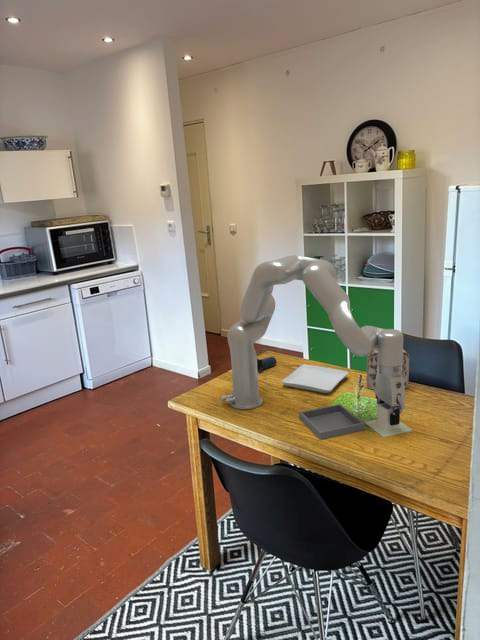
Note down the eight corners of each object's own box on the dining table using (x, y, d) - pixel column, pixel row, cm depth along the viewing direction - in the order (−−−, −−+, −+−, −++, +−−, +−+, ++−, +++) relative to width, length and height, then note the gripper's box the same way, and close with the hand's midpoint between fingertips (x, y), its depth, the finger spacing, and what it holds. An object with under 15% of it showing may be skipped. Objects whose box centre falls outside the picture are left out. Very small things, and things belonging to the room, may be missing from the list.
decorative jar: (365, 388, 192) (366, 344, 188) (382, 379, 200) (383, 337, 195) (392, 396, 184) (393, 351, 179) (409, 387, 191) (411, 343, 186)
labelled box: (385, 430, 157) (386, 410, 156) (376, 424, 162) (377, 404, 160) (399, 427, 159) (399, 407, 157) (389, 421, 163) (390, 401, 162)
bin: (320, 441, 155) (320, 432, 154) (299, 420, 169) (298, 412, 169) (364, 431, 159) (365, 423, 158) (340, 411, 174) (340, 403, 173)
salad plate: (330, 398, 186) (330, 389, 185) (280, 388, 197) (280, 380, 196) (349, 378, 203) (350, 371, 202) (303, 371, 214) (302, 363, 213)
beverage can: (260, 377, 213) (278, 370, 221) (263, 361, 210) (281, 355, 218) (246, 368, 219) (264, 362, 227) (248, 353, 216) (266, 347, 224)
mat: (383, 439, 154) (383, 436, 154) (364, 424, 164) (364, 421, 164) (412, 432, 157) (413, 429, 157) (392, 417, 167) (392, 415, 167)
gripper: (417, 375, 148) (414, 429, 153) (384, 358, 164) (382, 407, 169) (396, 379, 146) (394, 434, 151) (364, 361, 162) (363, 411, 167)
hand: (388, 419), depth 160 cm, fingers open, 6 cm apart
